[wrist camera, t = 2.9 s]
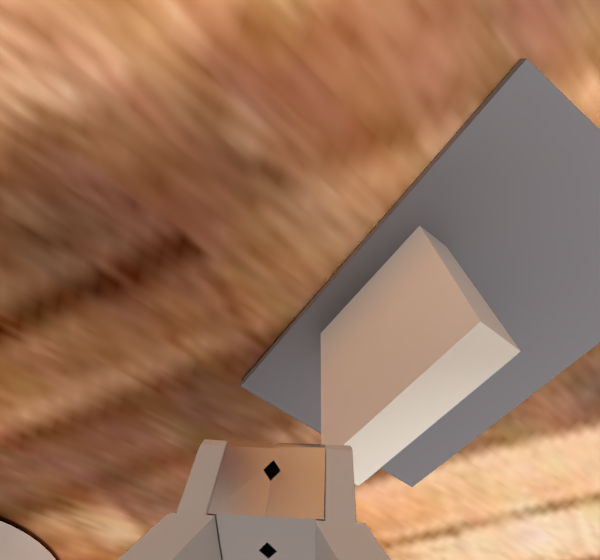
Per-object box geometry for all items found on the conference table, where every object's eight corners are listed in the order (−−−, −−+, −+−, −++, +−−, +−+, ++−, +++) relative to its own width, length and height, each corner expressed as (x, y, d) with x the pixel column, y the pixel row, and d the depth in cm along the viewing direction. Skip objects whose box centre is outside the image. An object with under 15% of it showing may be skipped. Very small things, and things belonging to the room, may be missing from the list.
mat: (410, 479, 30) (412, 487, 30) (242, 380, 27) (240, 386, 26) (711, 243, 22) (721, 248, 21) (520, 59, 19) (526, 58, 18)
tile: (348, 351, 25) (362, 488, 17) (320, 333, 24) (321, 465, 16) (449, 248, 22) (525, 355, 14) (419, 225, 21) (480, 321, 13)
